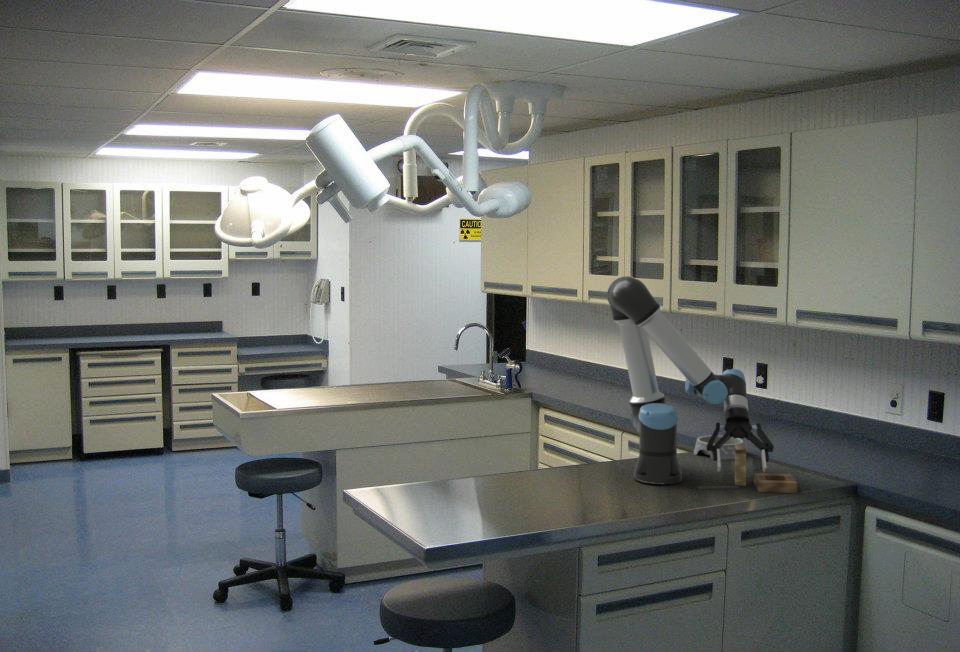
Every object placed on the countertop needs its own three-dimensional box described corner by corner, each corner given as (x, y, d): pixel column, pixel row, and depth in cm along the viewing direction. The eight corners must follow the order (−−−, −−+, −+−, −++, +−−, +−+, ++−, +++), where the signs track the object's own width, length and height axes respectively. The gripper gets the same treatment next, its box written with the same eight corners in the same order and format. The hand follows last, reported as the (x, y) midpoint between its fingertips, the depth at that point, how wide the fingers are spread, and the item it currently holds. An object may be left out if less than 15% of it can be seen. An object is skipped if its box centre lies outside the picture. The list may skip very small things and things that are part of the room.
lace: (699, 489, 278) (699, 487, 278) (698, 488, 279) (698, 486, 278) (738, 488, 278) (738, 486, 278) (737, 487, 279) (738, 486, 279)
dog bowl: (716, 446, 336) (716, 432, 336) (756, 455, 321) (757, 440, 321) (683, 453, 327) (684, 438, 326) (724, 462, 312) (724, 447, 311)
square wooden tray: (758, 491, 274) (759, 482, 274) (754, 482, 285) (754, 473, 284) (797, 493, 272) (797, 483, 272) (790, 483, 283) (791, 473, 283)
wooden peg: (735, 485, 282) (735, 447, 281) (734, 482, 285) (734, 444, 284) (745, 485, 281) (746, 447, 280) (744, 483, 284) (745, 445, 283)
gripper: (775, 419, 295) (782, 476, 281) (696, 418, 299) (699, 474, 285) (778, 406, 289) (785, 464, 276) (697, 405, 293) (701, 462, 280)
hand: (741, 469), depth 281 cm, fingers open, 13 cm apart
